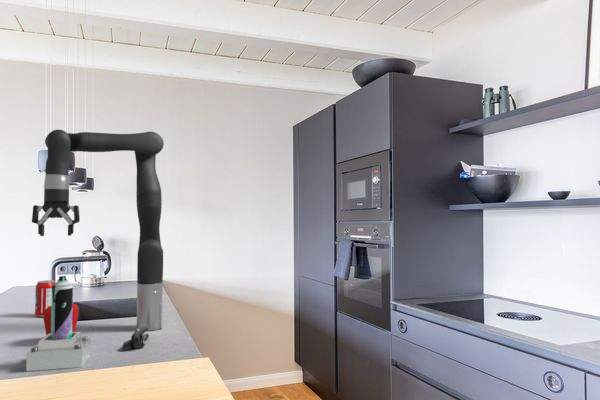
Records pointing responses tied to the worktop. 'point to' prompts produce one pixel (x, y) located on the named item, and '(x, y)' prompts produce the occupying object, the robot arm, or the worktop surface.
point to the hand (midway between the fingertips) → (55, 235)
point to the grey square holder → (59, 353)
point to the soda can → (43, 296)
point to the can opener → (136, 339)
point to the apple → (48, 318)
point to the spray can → (61, 309)
